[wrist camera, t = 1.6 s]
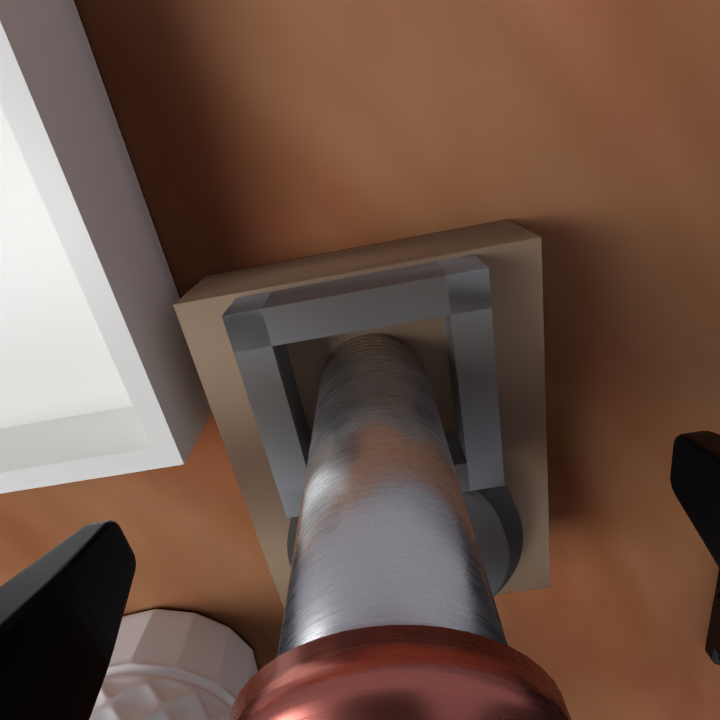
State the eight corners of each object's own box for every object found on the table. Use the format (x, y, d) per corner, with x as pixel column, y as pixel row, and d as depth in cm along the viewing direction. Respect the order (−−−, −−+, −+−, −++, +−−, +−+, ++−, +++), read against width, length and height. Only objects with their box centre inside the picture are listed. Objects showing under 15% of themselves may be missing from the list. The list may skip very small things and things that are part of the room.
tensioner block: (523, 527, 16) (572, 640, 13) (298, 559, 17) (281, 676, 13) (506, 219, 12) (573, 253, 8) (205, 275, 13) (142, 330, 9)
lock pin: (432, 306, 10) (602, 679, 3) (448, 428, 12) (593, 886, 5) (291, 332, 11) (153, 731, 3) (322, 448, 12) (266, 915, 5)
